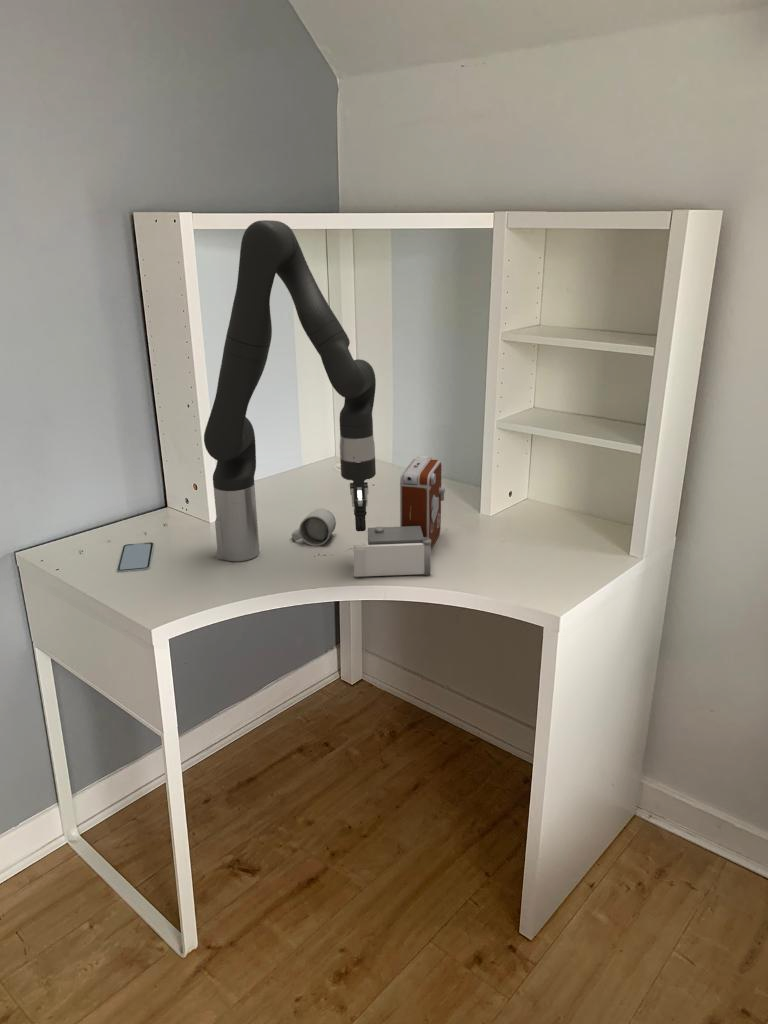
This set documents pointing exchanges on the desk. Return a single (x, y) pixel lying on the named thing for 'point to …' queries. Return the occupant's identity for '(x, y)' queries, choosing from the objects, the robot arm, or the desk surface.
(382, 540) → the block
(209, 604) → the desk surface
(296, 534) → the ceramic mug
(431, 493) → the cine camera
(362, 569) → the side door
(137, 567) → the smartphone
